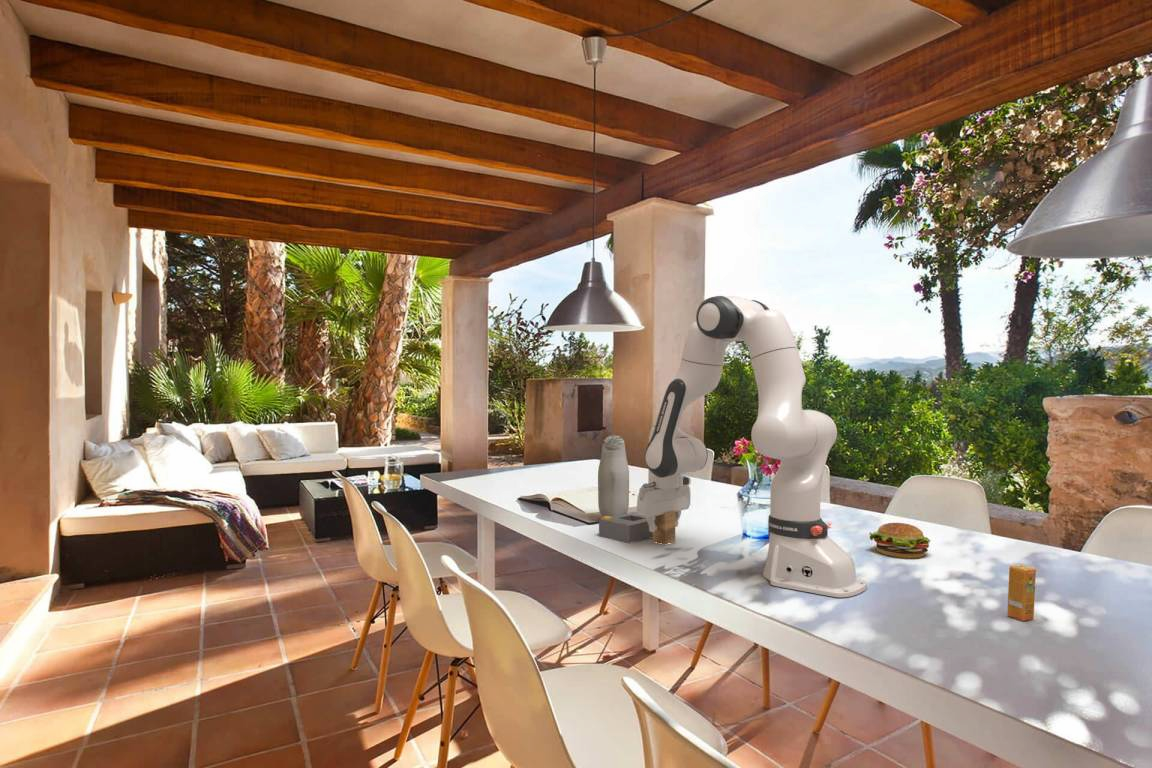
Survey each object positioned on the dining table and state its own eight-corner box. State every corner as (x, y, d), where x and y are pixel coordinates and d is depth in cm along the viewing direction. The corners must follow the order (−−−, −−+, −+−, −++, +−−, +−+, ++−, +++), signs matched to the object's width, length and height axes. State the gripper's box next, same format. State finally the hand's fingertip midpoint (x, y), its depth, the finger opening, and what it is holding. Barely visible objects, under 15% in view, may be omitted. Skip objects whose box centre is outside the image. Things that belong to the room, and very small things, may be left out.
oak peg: (675, 542, 186) (675, 510, 186) (665, 545, 183) (665, 513, 183) (662, 539, 189) (662, 508, 189) (652, 542, 186) (652, 510, 186)
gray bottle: (595, 518, 218) (596, 434, 218) (626, 517, 220) (626, 433, 219) (600, 524, 209) (600, 436, 208) (631, 523, 210) (632, 436, 210)
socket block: (665, 534, 196) (665, 515, 196) (629, 543, 185) (629, 523, 185) (634, 527, 205) (634, 509, 205) (598, 535, 194) (598, 517, 194)
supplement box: (1024, 622, 125) (1025, 569, 125) (1006, 616, 128) (1007, 565, 128) (1036, 619, 126) (1036, 567, 126) (1017, 613, 130) (1018, 563, 129)
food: (898, 544, 184) (898, 516, 184) (940, 557, 171) (940, 527, 171) (858, 548, 180) (858, 519, 180) (898, 562, 167) (898, 530, 167)
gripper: (648, 485, 177) (648, 537, 177) (694, 478, 191) (694, 525, 191) (631, 483, 181) (631, 533, 181) (677, 475, 195) (676, 522, 195)
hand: (663, 529), depth 186 cm, fingers open, 8 cm apart
